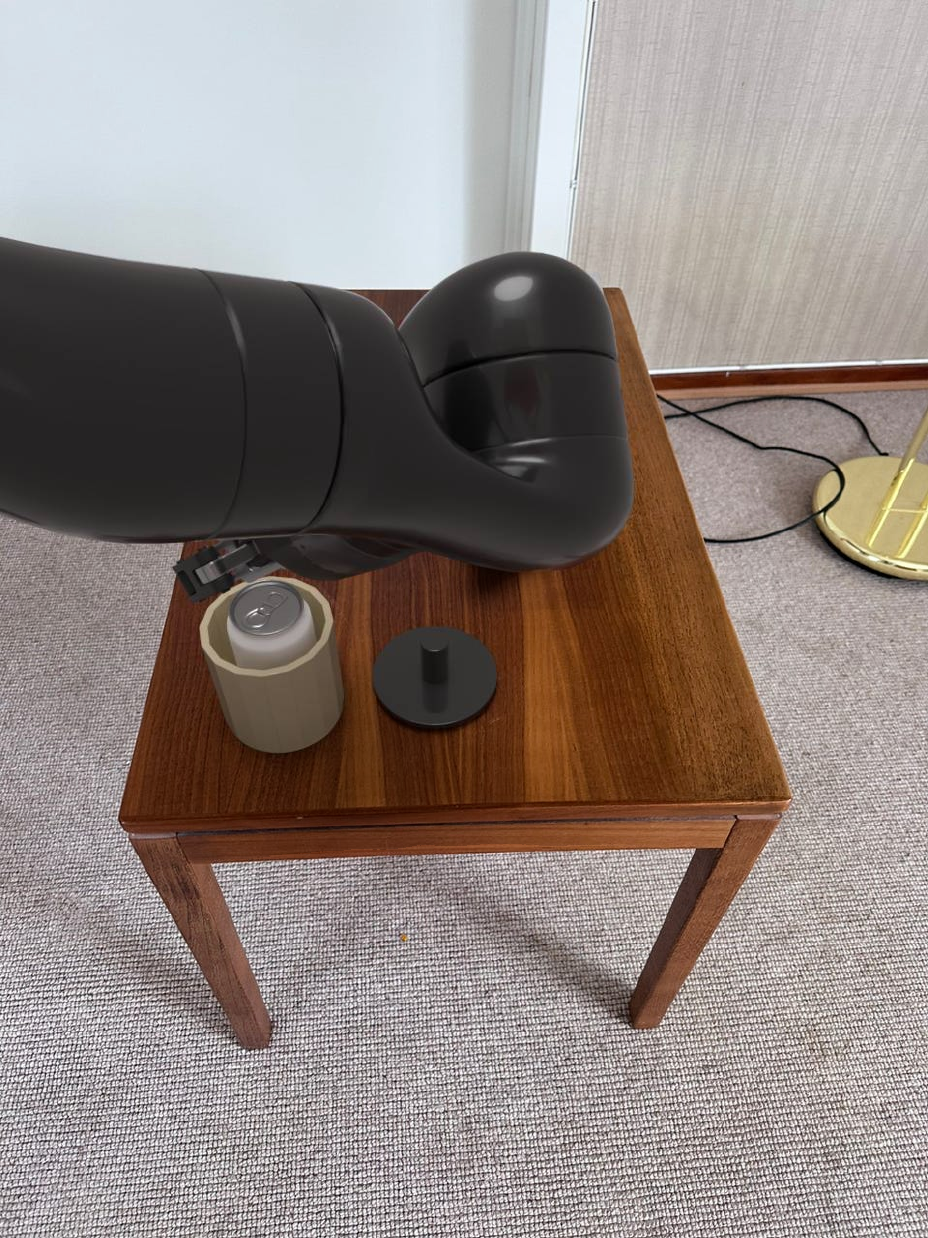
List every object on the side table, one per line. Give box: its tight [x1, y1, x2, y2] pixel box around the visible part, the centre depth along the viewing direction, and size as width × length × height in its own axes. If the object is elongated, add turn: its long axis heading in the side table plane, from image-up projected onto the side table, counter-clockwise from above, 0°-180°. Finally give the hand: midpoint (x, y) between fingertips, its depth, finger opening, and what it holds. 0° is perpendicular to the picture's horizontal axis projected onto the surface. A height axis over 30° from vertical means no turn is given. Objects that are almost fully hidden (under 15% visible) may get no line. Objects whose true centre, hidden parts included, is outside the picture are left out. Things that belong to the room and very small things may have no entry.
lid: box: [372, 625, 498, 729], centre depth 76 cm, size 11×11×6 cm
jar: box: [199, 575, 345, 754], centre depth 73 cm, size 10×10×10 cm
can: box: [227, 579, 317, 670], centre depth 72 cm, size 6×6×12 cm
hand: (262, 541), depth 60 cm, fingers open, 8 cm apart
